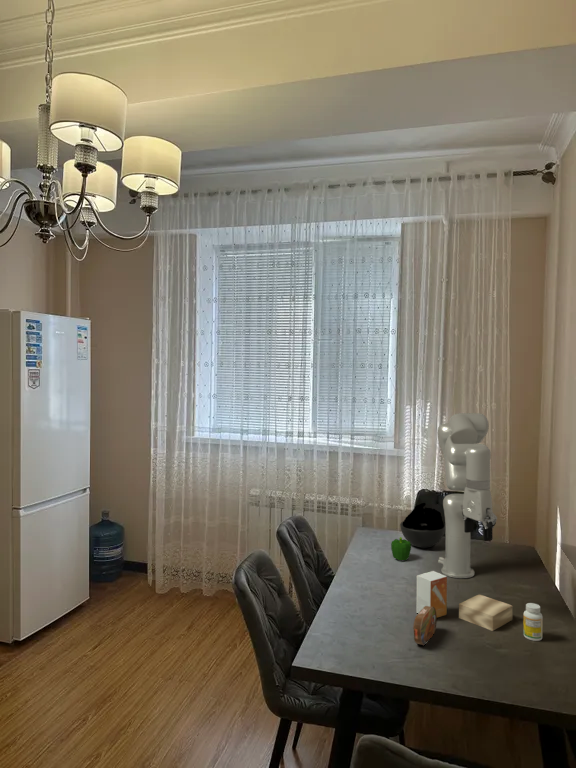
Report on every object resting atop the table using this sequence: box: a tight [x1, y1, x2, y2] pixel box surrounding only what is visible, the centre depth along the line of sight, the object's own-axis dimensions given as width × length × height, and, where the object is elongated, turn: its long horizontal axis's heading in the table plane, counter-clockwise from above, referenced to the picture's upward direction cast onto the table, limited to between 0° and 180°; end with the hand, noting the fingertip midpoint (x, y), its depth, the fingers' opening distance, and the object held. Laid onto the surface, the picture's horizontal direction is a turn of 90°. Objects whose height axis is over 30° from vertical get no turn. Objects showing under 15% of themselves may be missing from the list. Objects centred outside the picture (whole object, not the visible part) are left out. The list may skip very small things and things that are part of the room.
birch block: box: [458, 594, 514, 632], centre depth 181 cm, size 12×12×5 cm
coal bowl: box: [399, 502, 445, 549], centre depth 255 cm, size 20×20×19 cm
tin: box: [412, 606, 438, 646], centre depth 168 cm, size 15×3×8 cm, turn 148°
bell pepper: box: [390, 536, 412, 561], centre depth 238 cm, size 8×8×10 cm
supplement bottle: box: [522, 602, 544, 642], centre depth 168 cm, size 5×5×10 cm
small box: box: [415, 570, 448, 619], centre depth 184 cm, size 8×6×13 cm
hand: (478, 536), depth 184 cm, fingers open, 9 cm apart
